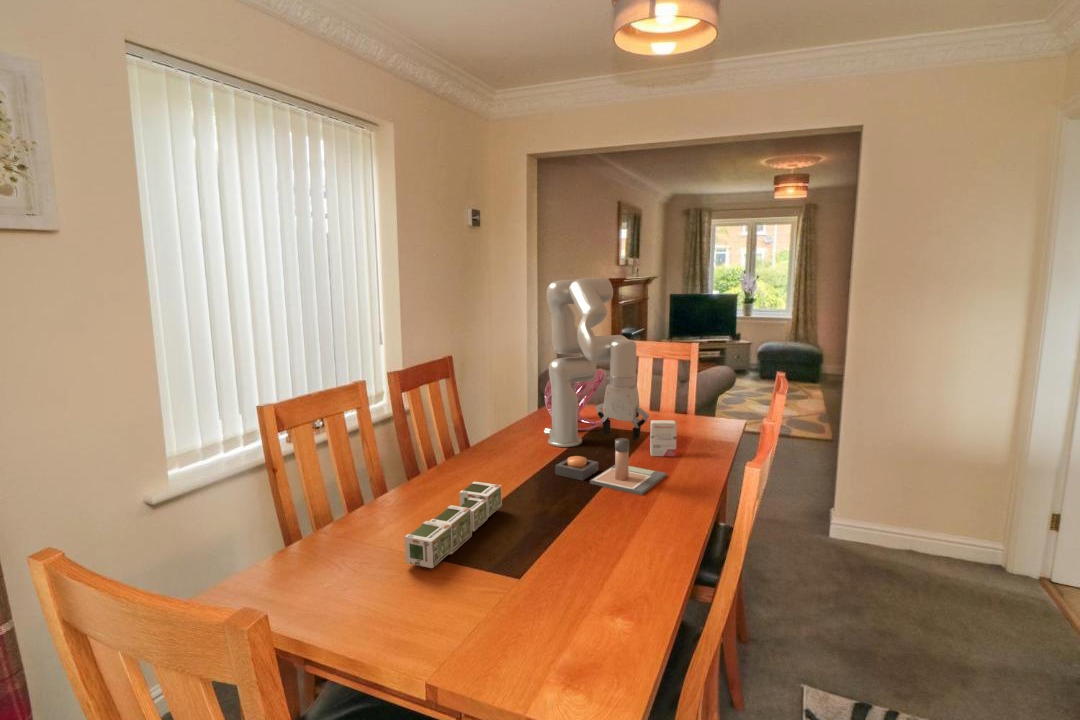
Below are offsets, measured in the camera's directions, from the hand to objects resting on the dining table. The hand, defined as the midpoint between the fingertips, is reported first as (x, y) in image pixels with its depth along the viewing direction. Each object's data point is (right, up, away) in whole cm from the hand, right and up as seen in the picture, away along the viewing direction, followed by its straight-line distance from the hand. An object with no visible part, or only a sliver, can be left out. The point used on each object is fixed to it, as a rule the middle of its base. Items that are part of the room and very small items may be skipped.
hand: (621, 436), depth 178 cm
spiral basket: (-10, -4, +63) cm, 64 cm away
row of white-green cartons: (-45, -20, -32) cm, 59 cm away
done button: (-13, -11, +10) cm, 19 cm away
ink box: (+18, -10, +26) cm, 33 cm away
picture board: (+3, -14, +3) cm, 14 cm away
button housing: (-13, -13, +10) cm, 20 cm away
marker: (0, -13, +1) cm, 13 cm away
